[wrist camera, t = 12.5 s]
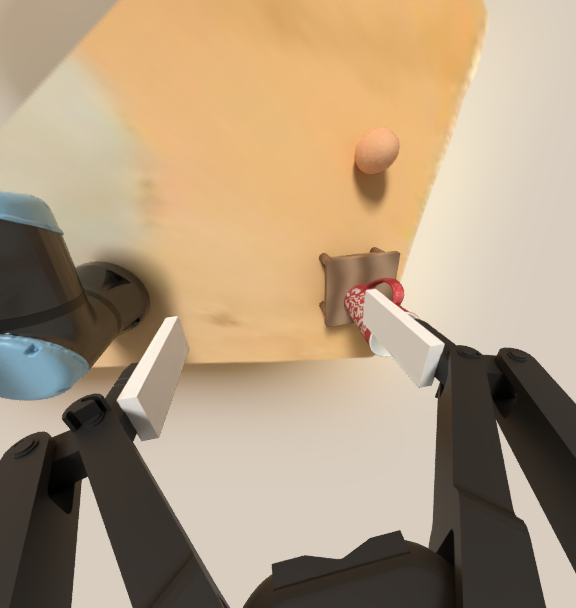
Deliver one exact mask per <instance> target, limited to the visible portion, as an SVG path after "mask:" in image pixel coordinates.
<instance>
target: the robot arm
mask: <svg viewBox="0 0 576 608" xmlns="http://www.w3.org/2000/svg"><path fill="white" fill-rule="evenodd" d="M62 235H64V233H63V231H62V230H61V229H60V228H59V226H58V224H57V222H56V220H55V218H54V215H53V213H52V211H51V209H50V208H49V206H48V205H47V204H46V203H45V202H44V201H42V200H41V199H39V198H37V197H35V196H31V195H27V194H20V193H11V192H2V191H0V397H2V398H6V399H13V400H41V399H48V398H52V397H55V396H58V395H60V394H62V393H64V392H66V391H67V390H69V389H70V388H71V387H72V386H73V385H74V384H75V383H76V382H77V381H78V380H79V379H80V378H82V377H83V376H85V374H87V373H88V371H89V369H90V368H91V367H92V366H93V365H94V363H95V362H96V361H97V360H98V358H99V357H100V356H101V355H102V353H103V352H104V351H105V350H106V349H107V347H108V346H109V345H110V344H111V342H112V341H113V340H114V339H115V337H116V336H118V335H120V334H122V333H124V332H127V331H129V330H131V329H133V328H134V327H136V326H137V325H138V324H139V323H140V322H141V321H142V320H143V318H144V317H145V316H146V314H147V312H148V309H149V296H148V293H147V291H146V289H145V287H144V285H143V284H142V283H141V281H140V280H139V279H138V278H137V277H136V276H134V275H133V274H132V273H130V272H129V271H127V270H126V269H124V268H122V267H119V266H117V265H114V264H110V263H105V262H90V263H85V264H82V265H80V266H78V267H76V268H75V266H74V263H73V261H72V258H71V256H70V253H69V251H68V248H67V246H66V243H65V241H64V238H63V236H62ZM363 323H364V324H365V326H366V327H367V328H368V329H369V330H370V331H371V333H372V334H373V335H374V336H375V337H376V339H377V340H378V341H379V342H380V343H381V344H382V346H383V347H384V348H385V349H386V350H387V351H388V353H389V354H390V355H391V356H392V357H393V358H394V360H395V361H396V362H397V363H398V364H399V365H400V366H401V368H402V369H403V370H404V371H405V372H406V374H407V375H408V376H409V377H410V378H411V379H412V380H413V382H414V383H415V384H416V385H417V386H418V387H419V388H420V387H425V386H431V385H432V383H433V380H434V377H436V378H437V379H438V380H439V381H440V384H439V387H438V390H437V393H436V396H435V397H436V398H438V408H437V409H438V410H437V432H436V433H437V434H436V458H435V481H434V506H433V525H432V531H431V536H430V542H429V549H428V548H426V547H424V546H422V545H420V544H417V543H414V542H411V541H407V540H404V538H403V536H402V534H401V531H400V530H399V531H395V532H392V533H388V534H384V535H380V536H376V537H372V538H370V539H368V540H367V541H366V542H364V543H363V544H362V545H360V546H359V547H358V548H356V549H355V550H353V551H352V552H351V553H350V554H348V555H347V556H345V557H344V558H342V559H332V558H323V557H314V556H306V555H305V556H300V557H297V558H293V559H289V560H285V561H282V562H278V563H274V564H272V575H270V576H269V577H268V578H266V579H265V580H264V581H263V582H262V583H261V584H260V585H259V586H258V587H257V588H256V589H255V591H254V592H253V593H252V594H251V596H250V597H249V599H248V600H247V602H246V603H245V605H244V606H243V608H546V605H545V601H544V597H543V592H542V588H541V583H540V579H539V574H538V570H537V566H536V561H535V557H534V552H533V548H532V543H531V539H530V535H529V532H528V529H527V526H526V524H525V523H524V521H523V520H521V519H520V518H518V517H516V515H515V513H514V510H513V506H512V501H511V496H510V491H509V485H508V480H507V475H506V470H505V465H504V459H503V454H502V449H501V444H500V439H499V434H498V428H497V423H496V420H497V422H498V424H499V426H500V428H501V430H502V432H503V434H504V436H505V438H506V440H507V442H508V444H509V445H510V447H511V449H512V451H513V453H514V455H515V457H516V459H517V461H518V463H519V465H520V467H521V469H522V471H523V472H524V474H525V476H526V478H527V480H528V482H529V484H530V486H531V488H532V490H533V492H534V494H535V495H536V497H537V499H538V501H539V503H540V505H541V507H542V509H543V511H544V513H545V515H546V517H547V519H548V521H549V523H550V524H551V526H552V528H553V530H554V532H555V534H556V536H557V538H558V540H559V541H560V543H561V546H562V548H563V549H564V551H565V553H566V555H567V557H568V559H569V561H570V563H571V565H572V567H573V569H574V571H575V573H576V404H575V403H574V401H573V400H572V399H571V398H570V397H569V396H568V395H567V394H566V393H565V392H564V390H563V389H562V388H561V387H560V386H559V385H558V384H557V383H556V381H554V379H553V378H552V377H551V376H550V375H549V374H548V373H547V372H546V370H545V369H544V368H543V367H542V366H541V365H540V364H539V363H538V362H537V360H536V359H535V358H533V357H532V356H531V355H530V354H528V353H526V352H524V351H522V350H519V349H514V348H502V349H500V350H499V352H498V354H497V356H494V355H482V354H481V353H480V352H479V351H477V350H475V349H473V348H471V347H467V346H462V345H455V344H454V343H453V342H451V341H450V340H449V339H447V338H446V337H445V336H443V335H442V334H441V333H439V332H438V331H437V330H436V329H434V328H432V327H431V326H430V325H429V324H428V323H426V322H424V321H422V320H420V319H413V318H412V317H410V316H409V315H408V314H407V313H405V312H404V311H403V310H402V309H400V308H399V307H398V306H397V305H395V304H394V303H393V302H392V301H390V300H389V299H388V298H387V297H385V296H384V295H383V294H382V293H380V292H379V291H378V290H377V289H371V290H366V293H365V303H364V313H363ZM188 351H189V346H188V343H187V340H186V337H185V335H184V332H183V329H182V326H181V323H180V320H179V317H178V316H175V317H167V318H166V319H165V320H164V322H163V324H162V325H161V327H160V329H159V330H158V332H157V334H156V335H155V337H154V339H153V340H152V342H151V344H150V345H149V347H148V349H147V350H146V352H145V354H144V355H143V357H142V359H141V360H140V362H138V363H132V364H131V365H129V366H128V367H127V368H126V369H125V370H124V371H123V372H122V374H121V375H120V377H119V378H118V380H117V381H116V383H115V384H114V387H112V389H111V390H110V392H109V393H108V395H107V396H106V398H104V396H102V395H101V394H91V395H87V396H85V397H83V398H80V399H79V400H77V401H76V402H74V403H72V404H71V405H70V406H69V407H68V408H67V409H66V410H65V412H64V413H63V415H62V420H63V421H64V422H65V424H66V425H67V426H68V427H69V428H70V430H69V431H67V432H64V433H62V434H60V435H57V436H54V437H51V436H50V435H49V434H48V433H46V432H37V433H34V434H31V435H29V436H27V437H25V438H23V439H21V440H20V441H18V442H17V443H16V444H14V445H13V446H12V447H11V448H10V449H9V450H7V452H5V454H4V455H3V457H2V458H1V460H0V608H71V603H72V591H73V579H74V578H73V577H74V567H75V553H76V543H77V530H78V519H79V507H80V494H81V482H82V479H84V478H86V477H88V478H89V480H90V484H91V487H92V489H93V493H94V495H95V498H96V501H97V504H98V507H99V510H100V513H101V516H102V519H103V522H104V525H105V528H106V530H107V534H108V537H109V539H110V542H111V545H112V548H113V551H114V554H115V557H116V560H117V563H118V566H119V569H120V572H121V575H122V578H123V580H124V583H125V586H126V589H127V592H128V595H129V598H130V601H131V604H132V607H133V608H230V607H229V605H228V604H227V602H226V601H225V599H224V597H223V595H222V594H221V592H220V591H219V589H218V587H217V586H216V584H215V582H214V581H213V579H212V577H211V576H210V574H209V572H208V570H207V569H206V567H205V565H204V564H203V562H202V560H201V558H200V557H199V555H198V553H197V551H196V550H195V548H194V546H193V544H192V543H191V541H190V539H189V538H188V536H187V534H186V532H185V531H184V529H183V527H182V526H181V524H180V522H179V520H178V519H177V517H176V516H175V513H174V512H173V510H172V508H171V507H170V505H169V503H168V501H167V500H166V498H165V496H164V495H163V493H162V491H161V490H160V488H159V486H158V484H157V482H156V481H155V479H154V477H153V476H152V474H151V472H150V470H149V469H148V467H147V465H146V464H145V462H144V460H143V458H142V457H141V455H140V453H139V451H138V450H137V448H136V446H135V445H134V443H133V441H134V438H135V436H136V434H137V435H138V436H139V438H140V439H141V441H145V440H150V439H155V438H159V436H160V433H161V430H162V427H163V424H164V421H165V419H166V415H167V413H168V410H169V407H170V404H171V401H172V398H173V395H174V392H175V389H176V386H177V383H178V380H179V378H180V375H181V372H182V369H183V366H184V363H185V360H186V357H187V354H188Z"/></svg>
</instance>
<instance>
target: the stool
mask: <svg viewBox="0 0 576 608" xmlns="http://www.w3.org/2000/svg"><path fill="white" fill-rule="evenodd" d="M399 257H400V253H399V252H397V251H392V252H384V251H382V250H380V249H378V248H376V247H374V248H372V249H371V250H370V253H364V254H355V255H347V256H338V257H329V256H328V255H327V254H325V253H322V254H321V255H320V256H319V260H320V261H321V262H322V263H323V264H324V265H325V301H322V302H321V303H320V305H319V306H320V308H321V309H322V311H323V313H324V314H325V325H326V326H327V327H330V326H336V325H343V324H349V323H354V321H353V320H352V318H351V316H350V315H349V313H348V312H347V310H346V309H345V306H344V299H345V296H346V294H347V293H348V291H349V290H350V289H352V288H353V287H355V286H357V285H360V284H369V283H371V282H372V281H374V280H377V279H380V278H393V279H395V280H396V276H397V270H398V264H399ZM375 289H377V290H378V291H379V292H381V293H382V294H383V295H385V296H386V297H388V298H389V299H391V300H392V298H393V291H392V289H391V287H390V286H389V284H387V283H385V282H383V283H381V284H379V285H377V286H376V287H375Z"/></svg>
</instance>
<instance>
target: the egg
mask: <svg viewBox="0 0 576 608" xmlns="http://www.w3.org/2000/svg"><path fill="white" fill-rule="evenodd" d="M398 152H399V140H398V137H397V135H396V134H395V133H394V132H393V131H391V130H390V129H387V128H376V129H373V130H371V131H369V132H367V133H366V134H365V135H364V136H363V137H362V138H361V139H360V141H359V142H358V144H357V146H356V149H355V162H356V164H357V166H358V168H359V169H360V170H361V171H363V172H364V173H367V174H376V173H380V172H382V171H384V170H386V169H387V168H389V167H390V165H391V164H392V163H393V162H394V161H395V159H396V157H397V155H398Z"/></svg>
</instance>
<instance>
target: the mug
mask: <svg viewBox="0 0 576 608" xmlns="http://www.w3.org/2000/svg"><path fill="white" fill-rule="evenodd" d="M383 282H385V283H387V284H389V286H390V287H391V289H392V291H393V298H392V300H391V299H389V298H388V297H387V298H388V299H389V300H390V301H392V302H393V303H394V304H395V305H397V306H398V307H399V308H400V309H402V310H403V311H404V312H405V313H407V314H408V315H409V316H410V317H412V318H413V319H419V317H418V316H417V315H415V314H414V313H411V312H409V311H407V310H406V309H404V308H402V307H401V306H400V304H401V303H402V301H403V298H404V290H403V287H402V285H401V284H400V282H398V281H397V280H395V279H393V278H380V279H377V280H374V281H372V282H371V283H369V284H360V285H357V286H355V287H353V288H352V289H350V290H349V291H348V293H347V294H346V296H345V299H344V306H345V309H346V310H347V312H348V313H349V315H350V316H351V318H352V320H353V321H354V323H355V324H356V326H357V327H358V329H359V330H360V332H361V333H362V335H363V336H364V338H365V339H366V341H367V343H368V344H369V347H370V349H371V351H372V352H373V353H374V354H376V355H378V356H381V357H391V355H390V354H389V353H388V351H387V350H386V349H385V348H384V347H383V346H382V344H381V343H380V342H379V341H378V340H377V339H376V337H375V336H374V335H373V334H372V333H371V331H370V330H369V329H368V328H367V327H366V326H365V324H364V323H363V313H364V303H365V293H366V290H371V289H375V287H376V286H377V285H379V284H381V283H383ZM380 293H381V292H380ZM384 296H385V295H384ZM385 297H386V296H385Z"/></svg>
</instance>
